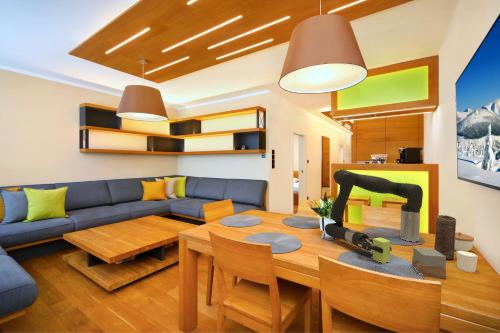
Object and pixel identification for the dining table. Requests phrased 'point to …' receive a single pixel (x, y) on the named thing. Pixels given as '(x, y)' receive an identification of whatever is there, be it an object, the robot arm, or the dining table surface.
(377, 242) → the lime pillar
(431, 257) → the charcoal top block
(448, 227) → the candle
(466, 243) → the lidded jar
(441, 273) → the walnut base block
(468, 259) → the white short cylinder
